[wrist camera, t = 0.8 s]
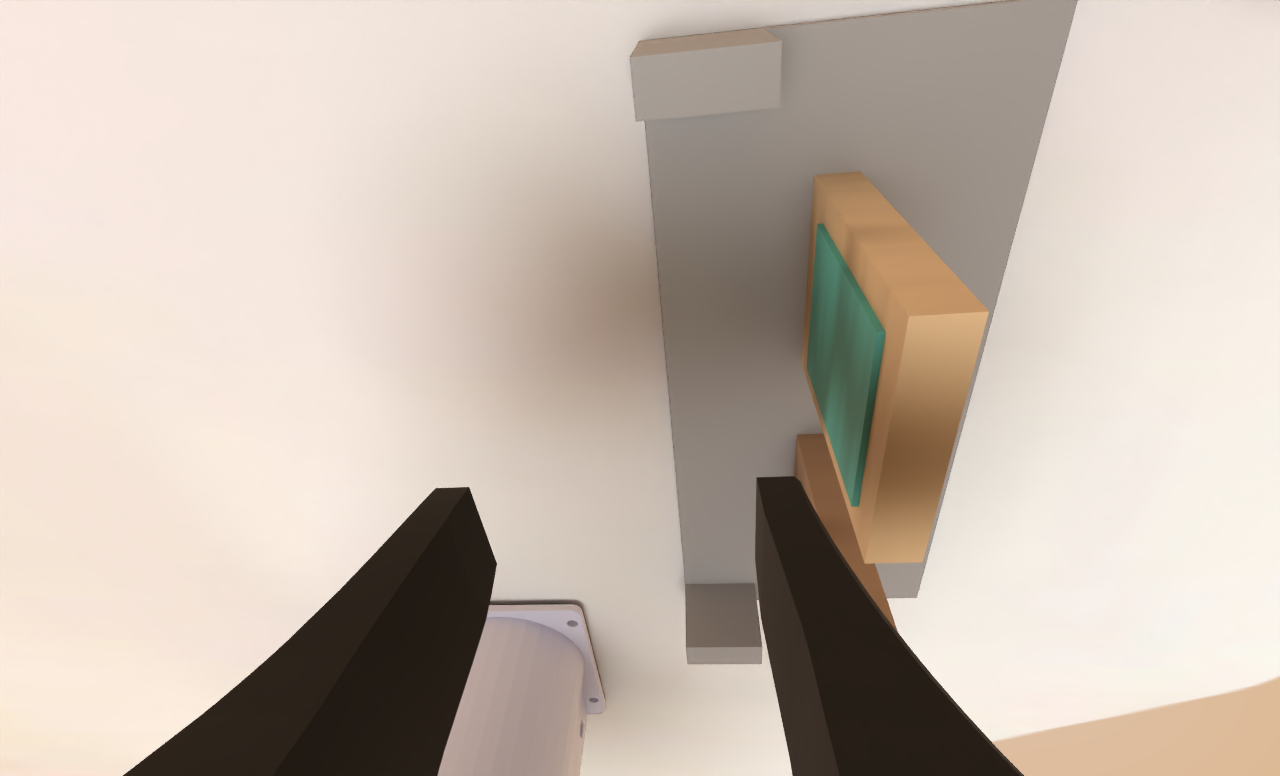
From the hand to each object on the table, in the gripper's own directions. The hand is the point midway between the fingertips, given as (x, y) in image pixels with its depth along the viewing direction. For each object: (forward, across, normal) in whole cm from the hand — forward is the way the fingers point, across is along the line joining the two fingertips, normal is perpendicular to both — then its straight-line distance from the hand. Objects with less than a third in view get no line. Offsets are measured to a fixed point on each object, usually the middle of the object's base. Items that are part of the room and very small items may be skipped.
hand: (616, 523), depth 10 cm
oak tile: (+9, -6, 0) cm, 11 cm away
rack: (+10, -6, +4) cm, 12 cm away
